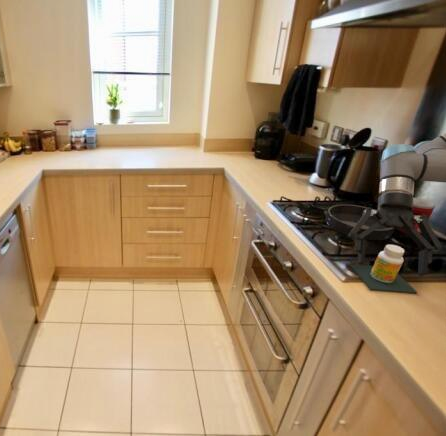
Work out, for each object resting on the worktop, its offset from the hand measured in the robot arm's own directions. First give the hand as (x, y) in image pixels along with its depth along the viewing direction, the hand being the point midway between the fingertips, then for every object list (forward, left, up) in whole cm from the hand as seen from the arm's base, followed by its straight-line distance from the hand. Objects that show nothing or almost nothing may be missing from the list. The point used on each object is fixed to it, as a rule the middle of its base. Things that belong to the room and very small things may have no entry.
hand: (390, 269), depth 84 cm
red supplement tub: (-25, -33, -5) cm, 42 cm away
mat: (-1, -2, -5) cm, 6 cm away
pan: (-9, -34, -5) cm, 36 cm away
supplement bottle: (-1, -2, -5) cm, 5 cm away
